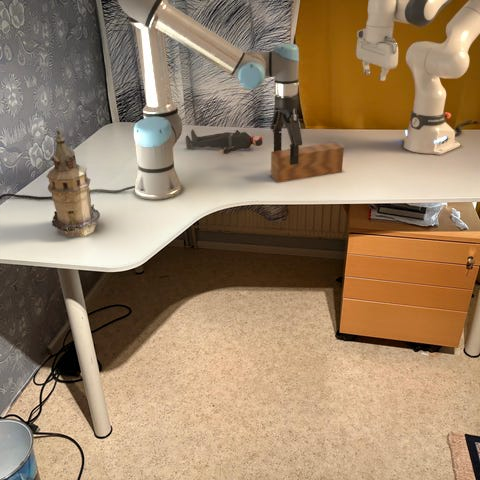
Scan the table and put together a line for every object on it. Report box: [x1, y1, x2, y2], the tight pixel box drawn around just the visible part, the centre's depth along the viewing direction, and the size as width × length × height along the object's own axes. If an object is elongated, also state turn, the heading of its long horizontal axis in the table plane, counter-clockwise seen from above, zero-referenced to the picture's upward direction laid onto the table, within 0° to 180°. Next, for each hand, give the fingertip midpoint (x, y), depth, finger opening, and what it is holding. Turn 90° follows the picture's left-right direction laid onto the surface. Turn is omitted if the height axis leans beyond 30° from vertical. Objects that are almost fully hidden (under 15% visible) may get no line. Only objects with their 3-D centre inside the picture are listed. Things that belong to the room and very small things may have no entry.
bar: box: [270, 142, 345, 183], centre depth 187 cm, size 25×6×9 cm, turn 110°
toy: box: [185, 129, 264, 156], centre depth 213 cm, size 26×6×30 cm
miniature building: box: [46, 129, 101, 237], centre depth 148 cm, size 13×14×30 cm
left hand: (285, 157), depth 183 cm, fingers open, 13 cm apart
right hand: (374, 77), depth 184 cm, fingers open, 8 cm apart
